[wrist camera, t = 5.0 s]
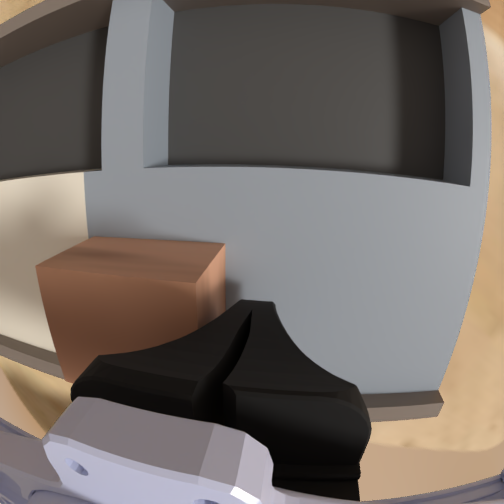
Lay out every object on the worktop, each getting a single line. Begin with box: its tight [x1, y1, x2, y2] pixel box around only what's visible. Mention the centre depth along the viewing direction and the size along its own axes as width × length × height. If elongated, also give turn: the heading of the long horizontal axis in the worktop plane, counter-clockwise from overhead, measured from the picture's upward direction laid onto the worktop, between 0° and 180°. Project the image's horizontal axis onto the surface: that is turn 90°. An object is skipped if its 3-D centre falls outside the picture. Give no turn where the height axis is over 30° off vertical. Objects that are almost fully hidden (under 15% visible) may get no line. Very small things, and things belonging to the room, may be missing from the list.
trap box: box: [0, 0, 491, 422], centre depth 13 cm, size 20×30×4 cm, turn 89°
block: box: [35, 236, 226, 384], centre depth 12 cm, size 5×6×4 cm
